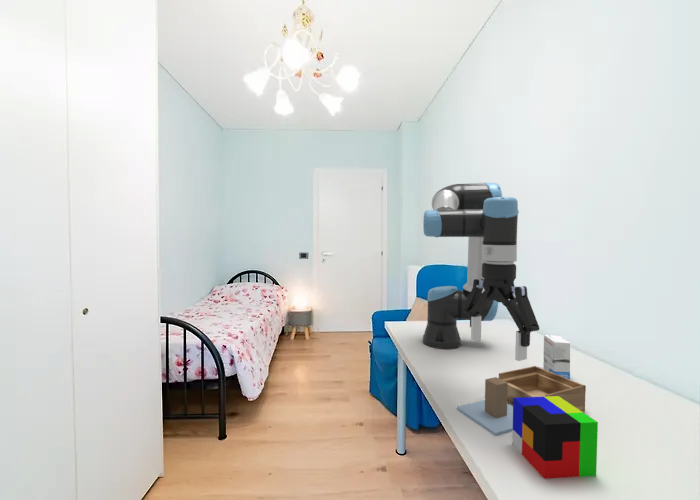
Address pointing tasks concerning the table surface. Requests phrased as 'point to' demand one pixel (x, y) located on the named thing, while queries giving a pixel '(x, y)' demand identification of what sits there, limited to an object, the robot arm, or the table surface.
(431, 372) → the table surface
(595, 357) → the table surface
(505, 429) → the cover plate
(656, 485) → the table surface
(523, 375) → the oak box
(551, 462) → the puzzle toy
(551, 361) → the ink box
